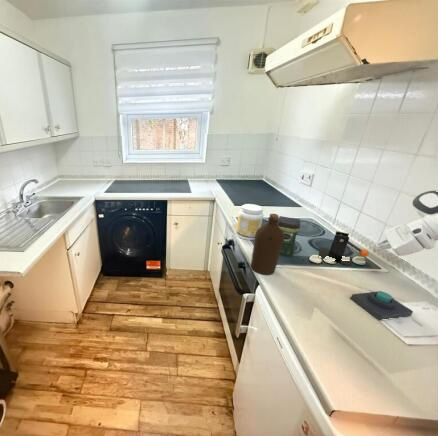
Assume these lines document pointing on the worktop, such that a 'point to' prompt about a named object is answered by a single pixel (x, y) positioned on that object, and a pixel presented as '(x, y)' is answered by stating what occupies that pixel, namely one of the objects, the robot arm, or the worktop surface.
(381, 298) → the button
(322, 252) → the switch bracket
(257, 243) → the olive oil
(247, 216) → the supplement tub
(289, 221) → the coffee jar
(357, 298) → the button housing
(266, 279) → the worktop surface
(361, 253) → the switch
